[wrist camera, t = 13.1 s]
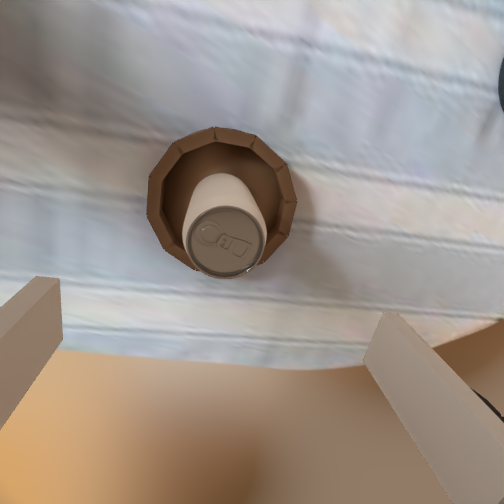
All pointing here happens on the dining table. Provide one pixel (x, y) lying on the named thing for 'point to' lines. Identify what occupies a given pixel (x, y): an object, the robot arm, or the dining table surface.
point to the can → (223, 228)
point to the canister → (501, 84)
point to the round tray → (213, 162)
